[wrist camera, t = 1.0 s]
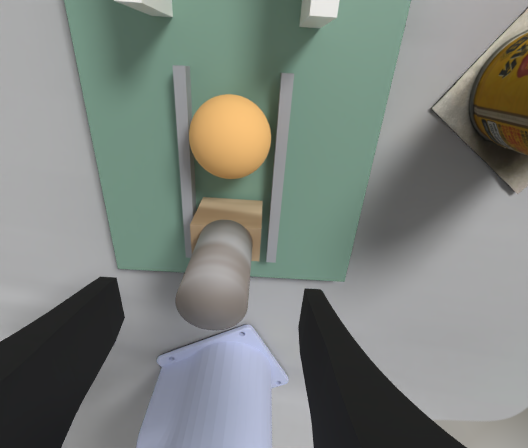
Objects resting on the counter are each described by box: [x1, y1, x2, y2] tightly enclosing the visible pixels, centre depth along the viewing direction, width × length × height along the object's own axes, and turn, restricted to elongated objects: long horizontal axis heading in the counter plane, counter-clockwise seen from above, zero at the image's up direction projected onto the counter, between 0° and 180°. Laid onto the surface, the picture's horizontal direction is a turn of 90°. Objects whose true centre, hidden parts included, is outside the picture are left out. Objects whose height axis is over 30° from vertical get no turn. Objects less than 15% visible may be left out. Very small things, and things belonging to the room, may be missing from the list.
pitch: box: [64, 0, 411, 282], centre depth 16 cm, size 24×16×2 cm, turn 176°
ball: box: [189, 94, 271, 179], centre depth 15 cm, size 4×4×4 cm
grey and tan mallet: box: [175, 197, 263, 330], centre depth 15 cm, size 3×4×8 cm
